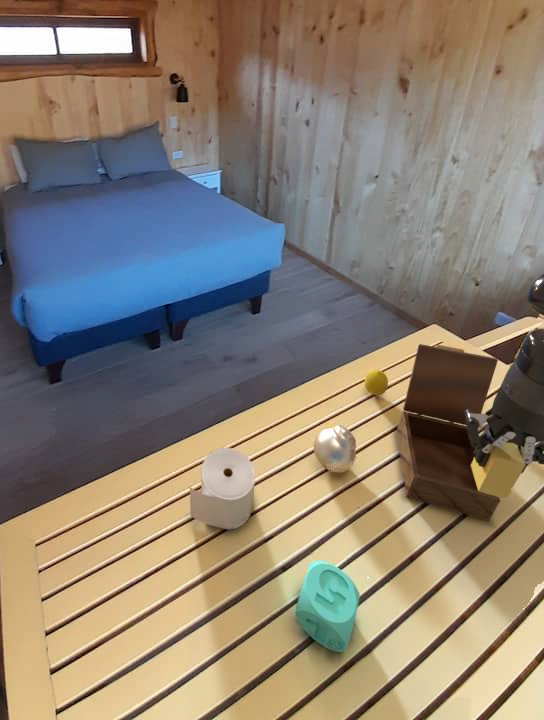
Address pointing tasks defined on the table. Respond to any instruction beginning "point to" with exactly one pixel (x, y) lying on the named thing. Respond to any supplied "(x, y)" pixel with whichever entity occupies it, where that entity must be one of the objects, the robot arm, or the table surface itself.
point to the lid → (448, 383)
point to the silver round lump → (335, 449)
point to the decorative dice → (327, 605)
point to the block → (499, 471)
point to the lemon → (376, 382)
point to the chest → (441, 466)
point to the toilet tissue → (224, 490)
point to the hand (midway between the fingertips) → (495, 466)
